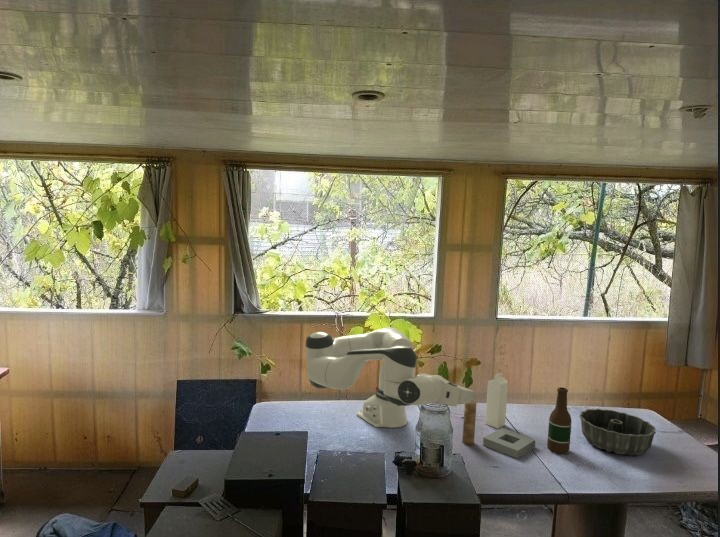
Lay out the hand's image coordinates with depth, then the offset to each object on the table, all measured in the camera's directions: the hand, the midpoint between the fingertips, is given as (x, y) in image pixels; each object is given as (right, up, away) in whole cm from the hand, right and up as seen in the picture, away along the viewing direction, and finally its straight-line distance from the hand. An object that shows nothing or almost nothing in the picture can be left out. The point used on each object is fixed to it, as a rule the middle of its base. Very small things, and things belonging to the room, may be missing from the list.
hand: (454, 385), depth 168 cm
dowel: (+8, -26, +16) cm, 31 cm away
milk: (+24, -25, +34) cm, 49 cm away
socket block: (+24, -26, +14) cm, 38 cm away
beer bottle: (+42, -28, +12) cm, 51 cm away
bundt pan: (+66, -28, +19) cm, 74 cm away
